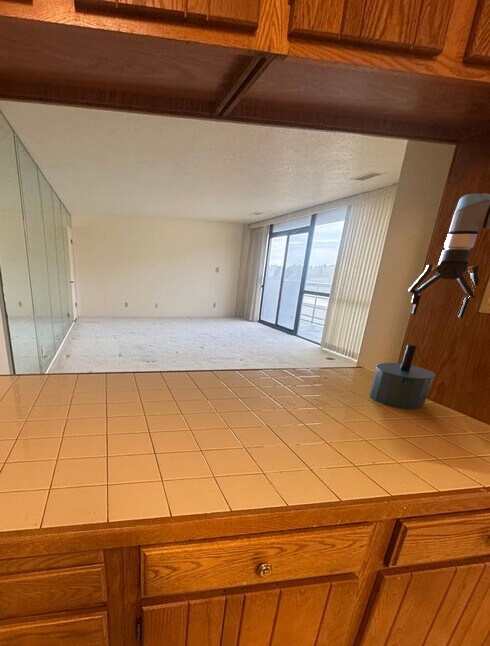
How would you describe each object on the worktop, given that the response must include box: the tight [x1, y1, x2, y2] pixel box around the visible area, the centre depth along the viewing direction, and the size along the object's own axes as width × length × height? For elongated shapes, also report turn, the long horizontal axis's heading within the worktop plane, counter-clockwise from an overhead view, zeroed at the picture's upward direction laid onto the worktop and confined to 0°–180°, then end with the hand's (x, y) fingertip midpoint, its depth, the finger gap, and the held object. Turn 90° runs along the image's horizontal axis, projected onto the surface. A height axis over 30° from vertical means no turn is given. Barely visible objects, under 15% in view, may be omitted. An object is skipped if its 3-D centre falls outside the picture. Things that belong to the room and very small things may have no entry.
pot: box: [369, 368, 434, 410], centre depth 126 cm, size 17×22×12 cm
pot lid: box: [375, 343, 436, 380], centre depth 122 cm, size 18×18×10 cm
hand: (436, 315), depth 121 cm, fingers open, 13 cm apart
